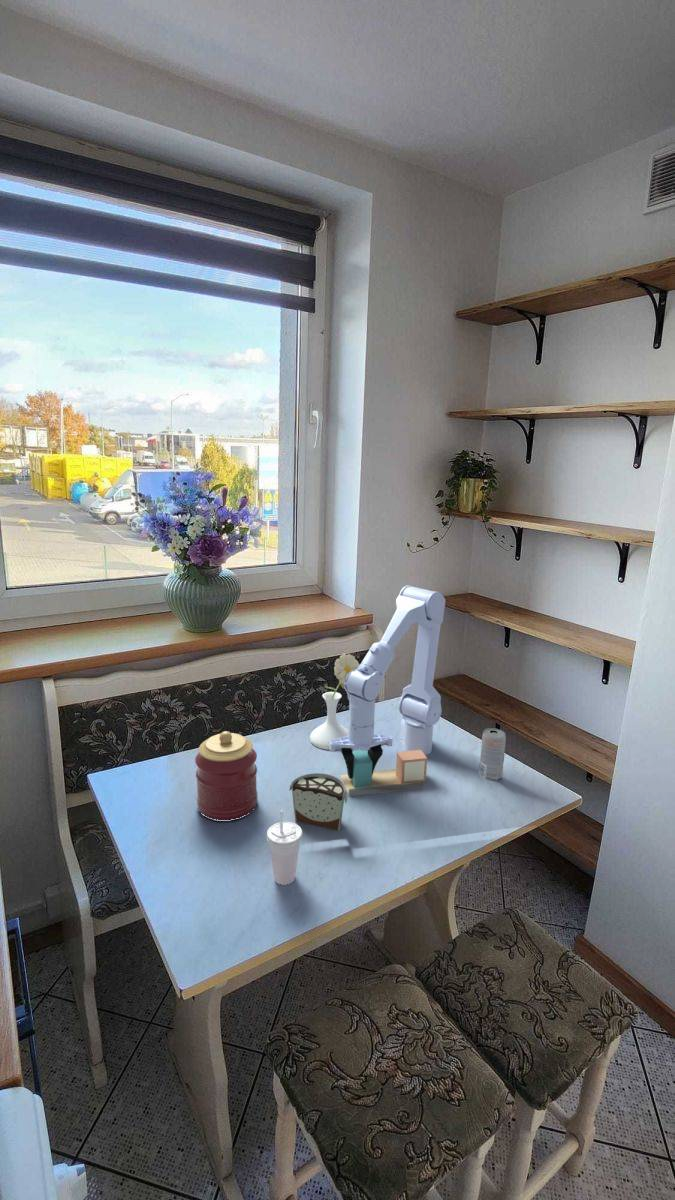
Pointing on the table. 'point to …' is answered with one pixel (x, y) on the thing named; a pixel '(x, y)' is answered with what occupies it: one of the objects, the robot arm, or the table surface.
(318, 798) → the food container
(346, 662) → the flower in vase
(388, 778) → the board
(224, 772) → the canister
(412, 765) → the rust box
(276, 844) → the smoothie
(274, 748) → the table surface
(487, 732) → the energy drink
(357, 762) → the teal box
